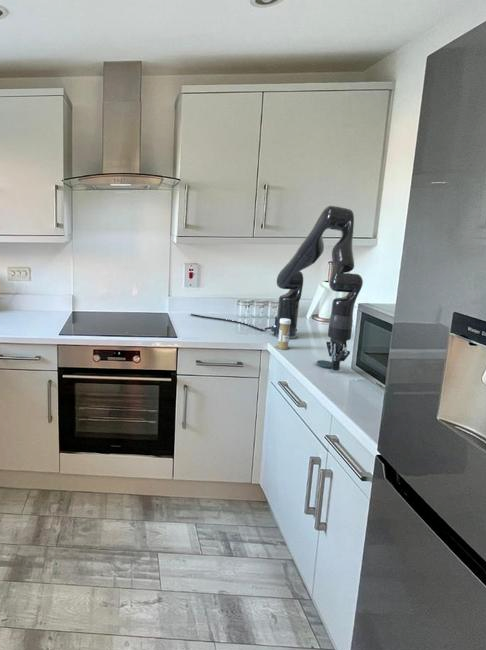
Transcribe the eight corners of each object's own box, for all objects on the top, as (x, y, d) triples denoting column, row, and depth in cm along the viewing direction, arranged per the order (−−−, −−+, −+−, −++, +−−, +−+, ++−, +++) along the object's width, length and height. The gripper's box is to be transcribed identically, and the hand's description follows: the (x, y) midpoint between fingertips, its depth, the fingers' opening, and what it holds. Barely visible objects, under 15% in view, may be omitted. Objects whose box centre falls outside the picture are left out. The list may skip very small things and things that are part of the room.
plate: (313, 365, 167) (313, 362, 167) (321, 361, 171) (321, 359, 171) (331, 370, 162) (331, 367, 161) (339, 366, 166) (339, 364, 166)
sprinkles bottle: (287, 350, 186) (290, 320, 184) (276, 348, 189) (279, 319, 187) (288, 347, 190) (291, 318, 188) (278, 345, 193) (281, 317, 190)
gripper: (321, 321, 164) (316, 363, 167) (339, 330, 151) (333, 375, 154) (341, 322, 163) (336, 364, 166) (360, 330, 150) (354, 376, 153)
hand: (335, 369), depth 160 cm, fingers closed
